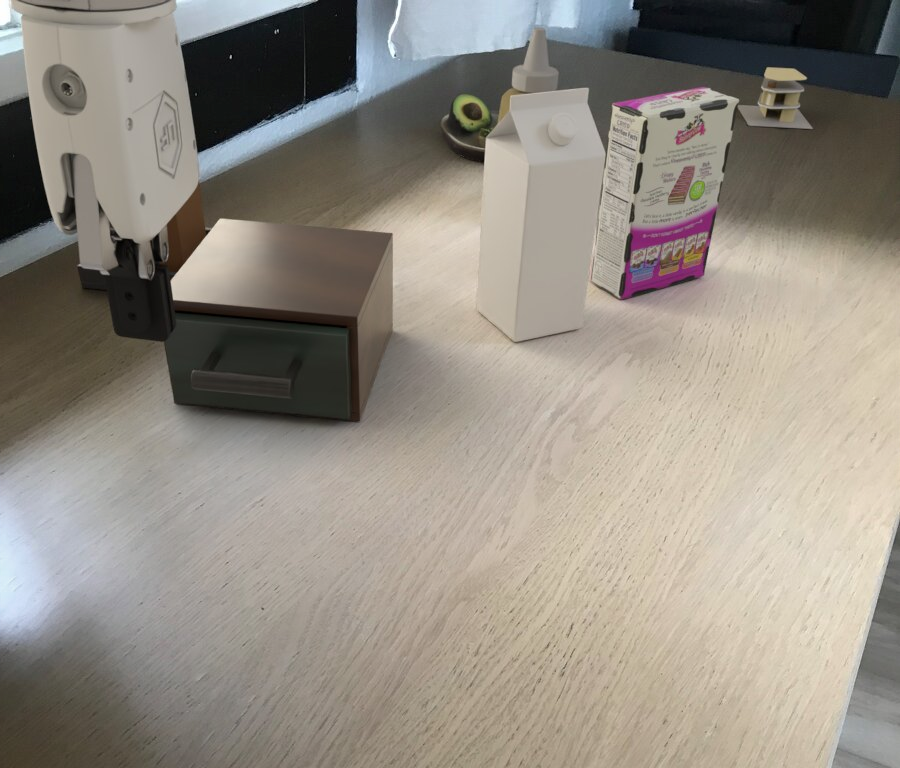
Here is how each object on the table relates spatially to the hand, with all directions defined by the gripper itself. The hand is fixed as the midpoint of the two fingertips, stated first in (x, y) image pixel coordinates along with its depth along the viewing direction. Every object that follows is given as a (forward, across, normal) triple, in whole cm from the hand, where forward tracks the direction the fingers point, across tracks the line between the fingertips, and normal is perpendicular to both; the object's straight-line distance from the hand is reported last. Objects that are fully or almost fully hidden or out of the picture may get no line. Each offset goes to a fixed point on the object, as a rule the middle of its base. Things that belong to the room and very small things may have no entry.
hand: (146, 332), depth 58 cm
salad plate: (+13, +82, -16) cm, 85 cm away
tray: (+13, +36, +12) cm, 40 cm away
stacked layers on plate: (+12, +103, -53) cm, 117 cm away
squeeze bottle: (+13, +58, -20) cm, 63 cm away
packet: (+13, +36, +12) cm, 40 cm away
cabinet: (+13, +20, -3) cm, 24 cm away
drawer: (+12, +16, -3) cm, 20 cm away
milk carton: (+12, +32, -22) cm, 41 cm away
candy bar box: (+12, +43, -33) cm, 56 cm away
